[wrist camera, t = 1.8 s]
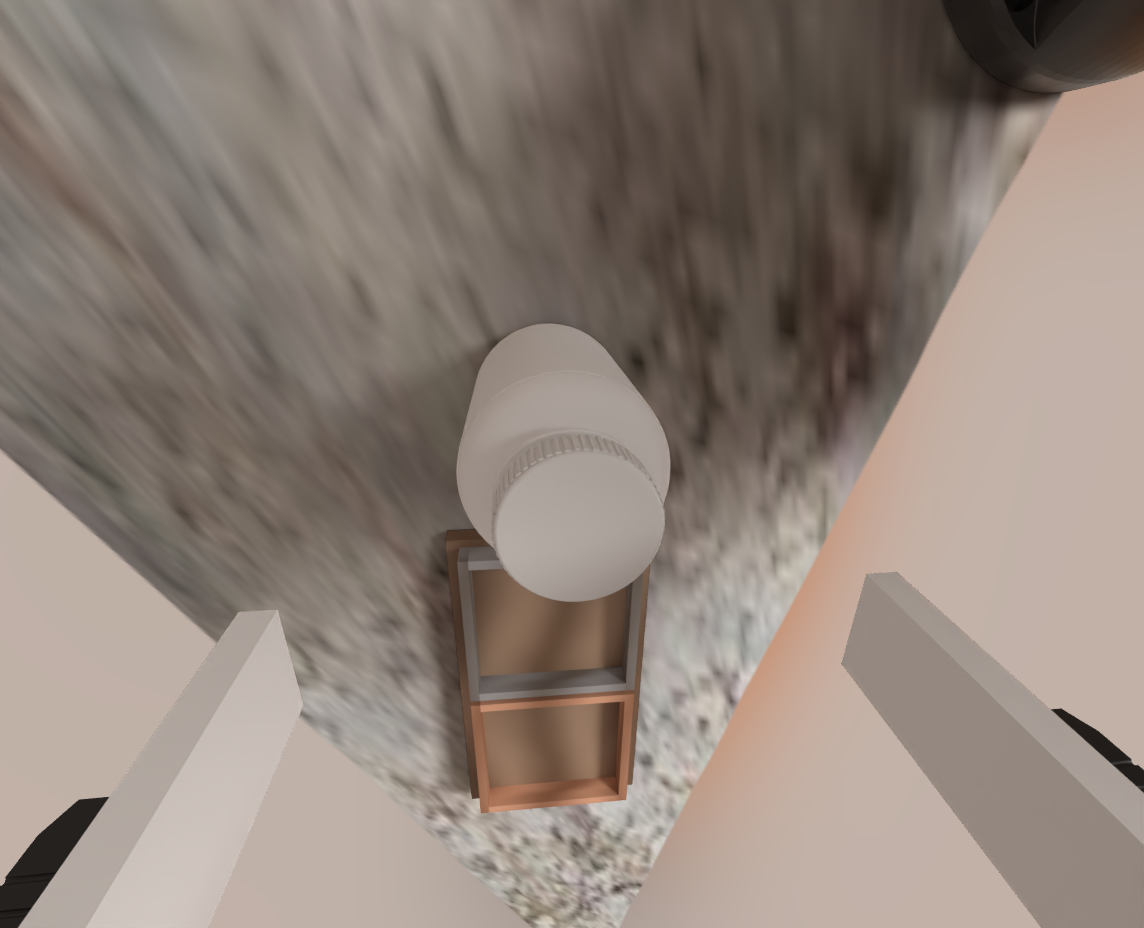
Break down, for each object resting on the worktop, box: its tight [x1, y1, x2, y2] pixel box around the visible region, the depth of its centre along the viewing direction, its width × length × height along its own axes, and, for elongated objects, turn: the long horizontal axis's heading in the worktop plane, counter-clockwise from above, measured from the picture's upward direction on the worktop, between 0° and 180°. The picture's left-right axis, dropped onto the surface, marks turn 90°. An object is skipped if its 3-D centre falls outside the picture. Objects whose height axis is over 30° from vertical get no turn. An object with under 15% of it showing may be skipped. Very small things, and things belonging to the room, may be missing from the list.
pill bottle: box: [456, 324, 670, 602], centre depth 23 cm, size 8×8×15 cm
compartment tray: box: [445, 529, 650, 813], centre depth 37 cm, size 12×23×3 cm, turn 0°
